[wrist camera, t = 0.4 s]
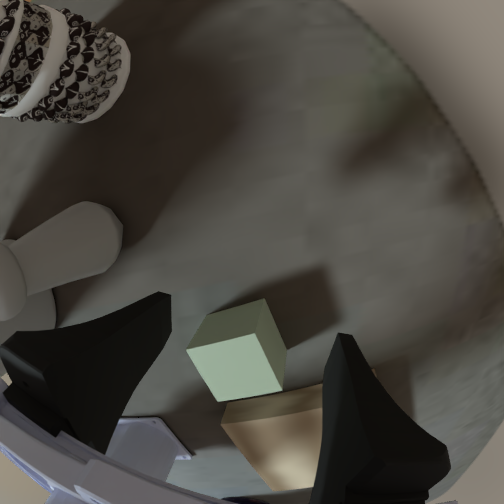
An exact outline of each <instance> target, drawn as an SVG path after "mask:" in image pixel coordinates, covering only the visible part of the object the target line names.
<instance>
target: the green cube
mask: <svg viewBox="0 0 504 504" xmlns="http://www.w3.org/2000/svg"><path fill="white" fill-rule="evenodd" d="M186 351H187V353H188V354H189V356H190V358H191V359H192V361H193V363H194V365H195V366H196V368H197V369H198V371H199V373H200V374H201V376H202V378H203V379H204V381H205V382H206V384H207V386H208V387H209V389H210V390H211V392H212V394H213V395H214V397H215V398H216V400H217V401H218V402H219V401H227V400H233V399H240V398H246V397H251V396H257V395H262V394H268V393H273V392H278V391H282V389H283V381H284V372H285V363H286V353H287V349H286V347H285V345H284V342H283V340H282V338H281V335H280V333H279V331H278V328H277V326H276V324H275V321H274V319H273V317H272V314H271V312H270V310H269V307H268V305H267V303H266V300H265V298H263V299H260V300H257V301H254V302H250V303H247V304H244V305H240V306H237V307H233V308H230V309H227V310H223V311H220V312H216V313H213V314H209V315H206V317H205V319H204V320H203V322H202V324H201V325H200V327H199V329H198V330H197V332H196V334H195V335H194V337H193V339H192V340H191V342H190V344H189V345H188V347H187V349H186Z"/></svg>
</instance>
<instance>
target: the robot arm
mask: <svg viewBox="0 0 504 504" xmlns="http://www.w3.org/2000/svg"><path fill="white" fill-rule="evenodd" d="M171 332H172V322H171V295H170V294H166V293H162V292H156V293H154V294H152V295H149V296H147V297H145V298H143V299H141V300H139V301H137V302H135V303H133V304H131V305H128V306H126V307H124V308H122V309H120V310H117V311H115V312H112V313H110V314H108V315H105V316H103V317H100V318H97V319H94V320H91V321H88V322H85V323H81V324H77V325H72V326H68V327H63V328H57V329H50V330H39V331H16V332H15V333H14V334H13V335H12V336H10V337H9V338H8V339H7V340H6V341H5V342H4V343H2V344H1V345H0V358H1V361H2V363H3V365H4V367H5V369H6V371H7V373H8V375H9V377H10V379H11V380H12V383H11V385H10V386H8V385H7V384H6V383H5V382H4V381H3V380H2V379H1V378H0V451H1V452H2V453H3V454H4V455H5V456H6V457H7V458H9V459H10V460H11V461H12V462H13V463H14V464H15V465H16V466H17V467H19V468H20V469H21V470H22V471H23V472H25V473H26V474H27V475H28V476H29V477H31V478H32V479H33V480H34V481H35V482H37V483H38V484H39V485H41V486H42V487H43V488H44V489H46V490H48V491H49V492H50V493H51V495H50V496H49V498H48V499H47V501H46V502H45V504H238V503H233V502H229V501H225V500H221V499H217V498H213V497H210V496H206V495H203V494H200V493H196V492H193V491H190V490H187V489H184V488H181V487H178V486H175V485H172V484H170V483H167V482H165V481H166V479H167V477H168V474H169V472H170V470H171V468H172V465H173V463H174V461H175V459H192V455H191V454H190V453H189V452H188V450H187V449H186V448H185V447H184V446H183V445H182V444H181V442H180V441H179V440H178V439H177V438H176V437H175V435H174V434H173V433H172V432H171V431H170V429H169V428H168V427H167V426H166V424H165V423H164V422H163V421H162V419H160V418H158V417H152V418H120V417H121V415H122V413H123V411H124V409H125V407H126V405H127V403H128V401H129V399H130V397H131V395H132V394H133V392H134V390H135V388H136V387H137V385H138V384H139V382H140V381H141V379H142V378H143V376H144V375H145V374H146V372H147V371H148V369H149V368H150V367H151V365H152V364H153V362H154V361H155V360H156V358H157V357H158V355H159V354H160V352H161V351H162V349H163V348H164V346H165V344H166V342H167V340H168V338H169V336H170V334H171ZM450 469H451V465H450V459H449V454H448V450H447V447H446V445H445V444H443V443H442V442H440V441H439V440H437V439H436V438H434V437H433V436H431V435H430V434H429V433H427V432H426V431H425V430H424V429H422V428H421V427H420V426H419V425H417V424H416V423H415V422H414V421H413V420H412V419H411V418H410V417H409V416H408V415H407V414H406V413H405V412H404V411H403V410H402V409H401V408H400V407H399V406H398V405H397V404H396V403H395V401H394V400H393V399H392V398H391V397H390V395H389V394H388V393H387V392H386V390H385V389H384V388H383V386H382V385H381V383H380V382H379V380H378V379H377V378H376V376H375V375H374V373H373V371H372V370H371V368H370V366H369V365H368V363H367V361H366V359H365V358H364V356H363V354H362V352H361V350H360V349H359V347H358V345H357V343H356V341H355V339H354V338H353V336H352V335H349V334H344V333H338V334H337V337H336V340H335V342H334V345H333V348H332V350H331V353H330V355H329V358H328V361H327V363H326V366H325V369H324V378H323V386H322V440H321V447H320V454H319V460H318V466H317V471H316V476H315V481H314V486H313V490H312V495H311V499H310V502H309V504H425V500H427V499H428V498H429V492H428V490H429V489H430V488H432V487H433V486H434V485H436V484H437V483H438V482H439V481H441V480H442V479H443V478H444V477H445V476H446V475H447V474H448V472H449V471H450ZM438 504H458V503H457V501H456V500H455V501H449V502H444V503H438Z"/></svg>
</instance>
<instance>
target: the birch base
mask: <svg viewBox="0 0 504 504" xmlns="http://www.w3.org/2000/svg"><path fill="white" fill-rule="evenodd" d="M371 370H372V371H373V373H374V375H375V376H376V378H377V375H376V372H375V368H374V369H371ZM322 386H323V383H322V384H318V385H314V386H310V387H306V388H302V389H297V390H293V391H288V392H284V393H279V394H274V395H269V396H263V397H258V398H252V399H246V400H240V401H234V402H228V403H227V406H226V409H225V412H224V415H223V418H222V421H221V424H220V425H221V426H222V427H223V429H224V430H225V431H226V433H227V434H228V436H229V437H230V438H231V440H232V441H233V442H234V444H235V445H236V446H237V447H238V449H239V450H240V451H241V453H242V454H243V455H244V457H245V458H246V459H247V460H248V462H249V463H250V464H251V465H252V467H253V468H254V469H255V470H256V471H257V473H258V474H259V475H260V476H261V478H262V479H263V480H264V481H265V482H266V483H267V485H268V486H269V487H270V488H271V489H272V490H273V491H282V490H292V489H301V488H309V487H313V486H314V481H315V476H316V471H317V466H318V460H319V454H320V447H321V440H322Z"/></svg>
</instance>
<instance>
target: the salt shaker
mask: <svg viewBox="0 0 504 504" xmlns="http://www.w3.org/2000/svg"><path fill="white" fill-rule="evenodd" d="M122 236H123V225H122V223H121V222H120V221H119V219H118V218H117V217H116V215H115V214H114V212H113V211H112V210H111V209H110V208H108V207H106V206H103V205H101V204H98V203H93V202H89V201H83V202H80V203H77V204H75V205H72V206H71V207H69V208H67V209H65V210H64V211H62V212H60V213H59V214H57V215H55V216H54V217H52V218H50V219H49V220H47V221H46V222H44V223H42V224H41V225H39V226H38V227H36V228H34V229H33V230H31V231H30V232H28V233H27V234H25V235H24V236H22V237H21V238H19V239H18V240H16V241H15V242H13V243H12V244H10V245H9V246H6V245H3V244H1V243H0V321H6V320H8V319H11V318H13V317H15V316H16V315H17V314H18V313H20V312H21V310H22V308H23V307H24V305H25V303H26V302H27V296H29V295H32V294H35V293H38V292H41V291H44V290H47V289H50V288H54V287H57V286H60V285H63V284H66V283H69V282H72V281H76V280H79V279H83V278H86V277H90V276H93V275H97V274H100V273H104V272H105V271H106V270H107V269H108V268H109V267H110V266H111V265H112V264H113V263H114V262H115V261H116V260H117V257H118V255H119V252H120V250H121V247H122Z"/></svg>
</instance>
